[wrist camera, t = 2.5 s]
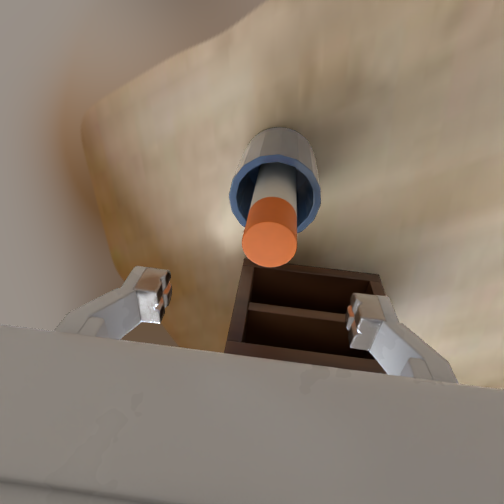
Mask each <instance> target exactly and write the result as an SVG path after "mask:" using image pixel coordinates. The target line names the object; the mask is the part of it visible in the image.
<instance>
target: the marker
mask: <svg viewBox="0 0 504 504" xmlns="http://www.w3.org/2000/svg"><path fill="white" fill-rule="evenodd" d="M242 248H243V251H244V253H245V254H246V256H247V257H248V258H249V259H250V260H251V261H252V262H254V263H255V264H258V265H260V266H264V267H277V266H281V265H283V264H285V263H287V262H288V261H290V260H291V259H292V258H293V256H294V255H295V253H296V250H297V194H296V168H295V167H294V166H290V165H287V164H283V163H280V162H274V163H264V164H261V165H260V169H259V173H258V177H257V181H256V185H255V189H254V193H253V197H252V201H251V206H250V210H249V214H248V218H247V222H246V226H245V230H244V234H243V238H242Z"/></svg>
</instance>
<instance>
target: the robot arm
mask: <svg viewBox="0 0 504 504" xmlns="http://www.w3.org/2000/svg"><path fill="white" fill-rule="evenodd" d="M170 279H171V273H170V271H169V270H164V269H157V268H150V267H142V266H136V267H134V269H133V270H132V272H131V273H130V275H129V276H128V278H127V279H126V281H125V282H124V284H123V285H122V287H121V288H116V289H115V290H112V291H111V292H108V293H106V294H104V295H102V296H100V297H99V298H96V299H94V300H93V301H91V302H89V303H87V304H85V305H83V306H81V307H79V308H77V309H75V310H73V311H71V312H69V313H68V314H67V315H66V316H65V317H64V319H63V320H62V321H61V323H60V324H59V325H58V326H57V328H56V329H55V330H54V331H49V330H42V329H33V328H26V327H19V326H11V325H3V324H0V504H504V389H497V388H489V387H481V386H473V385H466V384H459V383H458V381H457V379H456V377H455V375H454V373H453V371H452V368H451V366H450V364H449V362H448V361H447V360H446V359H445V358H443V357H442V356H441V355H440V354H439V353H437V352H436V351H435V350H434V349H433V348H431V347H430V346H429V345H428V344H427V343H425V342H424V341H423V340H422V339H421V338H419V337H418V336H417V335H416V334H415V333H413V332H412V331H411V330H410V329H409V328H407V327H406V326H405V325H404V324H402V323H399V321H398V318H397V316H396V313H395V310H394V308H393V305H392V303H391V300H390V298H389V297H388V296H380V295H369V294H360V293H353V294H352V295H351V298H350V302H351V305H350V306H348V307H347V310H346V315H345V324H346V328H347V329H348V330H349V333H348V340H349V345H350V348H354V349H361V350H367V351H370V353H371V354H372V355H373V357H374V358H375V359H376V360H377V361H378V363H379V364H380V365H381V366H382V368H383V369H384V370H385V371H386V373H387V374H381V373H373V372H365V371H357V370H349V369H342V368H334V367H327V366H319V365H311V364H304V363H296V362H288V361H281V360H273V359H265V358H257V357H250V356H242V355H234V354H226V353H219V352H211V351H203V350H195V349H188V348H180V347H172V346H165V345H157V344H149V343H141V342H133V341H126V340H119V339H121V338H122V337H123V336H124V335H125V334H127V333H128V332H130V331H131V330H132V329H134V328H135V327H136V326H137V325H139V324H140V323H141V322H149V323H159V324H160V323H161V321H162V318H163V316H164V314H165V307H167V306H168V305H169V302H170V300H171V295H172V285H171V284H170V283H169V281H170Z"/></svg>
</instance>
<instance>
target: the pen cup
mask: <svg viewBox="0 0 504 504" xmlns="http://www.w3.org/2000/svg"><path fill="white" fill-rule="evenodd" d="M274 162H280V163H283V164H287V165H290V166H294V167H295V168H296V194H297V233H299V232H302V231H303V230H304V229H305V228H306V227H307V226H308V225H309V224H310V223H311V222H312V221H313V220H314V219H315V217H316V215H317V212H318V210H319V208H320V204H321V189H320V182H319V176H318V170H317V164H316V157H315V154H314V151H313V149H312V147H311V145H310V143H309V142H308V140H307V139H306V138H305V137H304V136H303V135H301V134H300V133H298V132H297V131H295V130H292V129H289V128H285V127H274V128H269V129H266V130H264V131H262V132H260V133H258V134H257V135H256V136H255V137H253V138H252V140H251V141H250V142H249V144H248V145H247V147H246V148H245V150H244V152H243V155H242V157H241V160H240V162H239V165H238V167H237V170H236V172H235V175H234V177H233V180H232V184H231V188H230V192H229V199H230V204H231V209H232V212H233V214H234V215H235V217H236V218H237V220H238V221H239V223H240V224H241V225H242V226H243V227H245V226H246V222H247V218H248V214H249V210H250V206H251V201H252V197H253V193H254V189H255V185H256V181H257V177H258V173H259V169H260V165H261V164H264V163H274Z"/></svg>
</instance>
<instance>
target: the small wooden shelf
mask: <svg viewBox="0 0 504 504" xmlns="http://www.w3.org/2000/svg"><path fill="white" fill-rule="evenodd" d="M353 293H360V294H369V295H380V296H386V294H385V291H384V289H383V286H382V283H381V279H380V277H379V275H376V274H368V273H359V272H351V271H343V270H334V269H326V268H318V267H310V266H301V265H293V264H283V265H281V266H277V267H264V266H260V265H258V264H255V263H254V262H252V261H251V260H250V259H244V262H243V267H242V272H241V276H240V281H239V286H238V290H237V295H236V299H235V304H234V309H233V313H232V318H231V323H230V327H229V332H228V337H227V341H226V346H225V351H224V353H226V354H234V355H242V356H250V357H257V358H265V359H273V360H281V361H288V362H296V363H304V364H311V365H319V366H327V367H334V368H342V369H349V370H357V371H365V372H373V373H381V374H387V373H386V371H385V370H384V369H383V368H382V366H381V365H380V364H379V363H378V361H377V360H376V359H375V358H374V357H373V355H372V354H371V353H370V351H367V350H361V349H354V348H350V345H349V340H348V333H349V330H348V329H347V328H346V324H345V315H346V310H347V307H348V306H350V305H351V302H350V298H351V295H352V294H353Z"/></svg>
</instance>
